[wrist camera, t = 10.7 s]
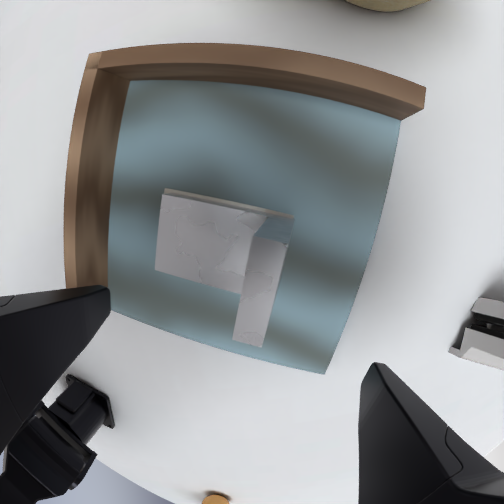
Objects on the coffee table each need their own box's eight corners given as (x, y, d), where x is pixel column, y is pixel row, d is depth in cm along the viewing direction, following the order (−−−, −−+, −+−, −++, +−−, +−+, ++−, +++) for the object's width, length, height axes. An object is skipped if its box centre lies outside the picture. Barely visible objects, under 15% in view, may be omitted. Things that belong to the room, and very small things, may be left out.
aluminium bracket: (294, 219, 17) (287, 243, 11) (276, 294, 18) (261, 347, 13) (171, 192, 18) (115, 204, 12) (162, 264, 19) (112, 299, 14)
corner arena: (324, 369, 20) (324, 410, 16) (102, 301, 23) (70, 323, 18) (400, 104, 14) (426, 87, 10) (125, 68, 17) (89, 53, 13)
